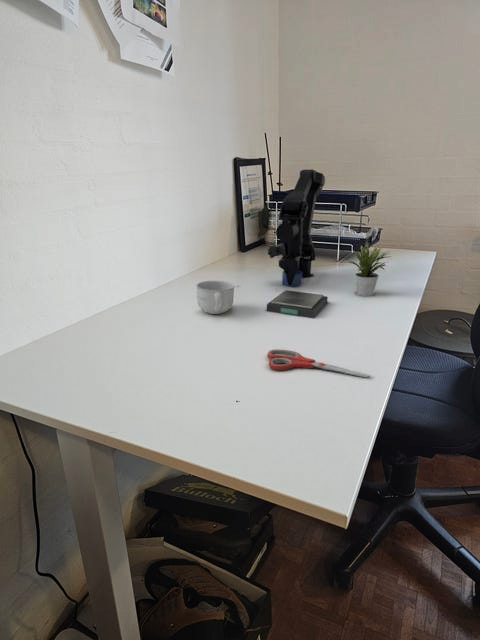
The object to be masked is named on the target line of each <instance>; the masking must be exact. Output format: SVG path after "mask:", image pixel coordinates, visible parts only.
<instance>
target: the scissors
mask: <svg viewBox="0 0 480 640" xmlns="http://www.w3.org/2000/svg"><path fill="white" fill-rule="evenodd" d="M266 356H267V358H268V359H269V361H268V366H269V368H271V369H272V370H275V371H284V370H289V369H293V368H302V369H303V368H304V369H313V368H318V369H320V370H326V371H331V372H335V373H341V374H346V375H350V376H355V377H360V378H369V377H370V376H369V375H367V374H366V373H365V374H364V373H361V372H359V371H354V370H352V369H347V368H343V367H339V366H335V365H331V364H329V363H324V362H319V361H316V359H312V358H310V357H306V356H303V355H301V354H300V353H299V352H297V351H293V350H288V349H281V348H280V349H279V348H278V349H277V348H276V349H270V350H269V351H268V352H267V354H266Z"/></svg>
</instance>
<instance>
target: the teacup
mask: <svg viewBox="0 0 480 640" xmlns="http://www.w3.org/2000/svg"><path fill="white" fill-rule="evenodd" d="M195 287H196V303H197V305H198V307H199V308H200V309H201V310H202V311H203V312H205V313H207V314H211V315H218V314H219V315H220V314H224V313H226V312H227V311H228V310H230V309H231V308H232V307H233V304H234V299H235V298H234V297H235V285H234V283H232V282H229V281H224V280H204V281H200V282H198V283H196V285H195Z"/></svg>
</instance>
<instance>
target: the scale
mask: <svg viewBox="0 0 480 640" xmlns="http://www.w3.org/2000/svg"><path fill="white" fill-rule="evenodd" d="M283 292H284V291H282V292H281V293H280V294H282V293H283ZM280 294H278V295H277V296H276V297H274V298H273V299H272V300H271V301H273V300H274V299H275V298H277V297H278V296H279V295H280ZM328 298H329V296H327V295H324V297H323V298H322V299H321V300H320V301H319V302H318V303H317V304H316V305H315V306H314V307H313V308H312V309H308V308H301V307H294V306H287V305H280V304H273V303H271V301H269V302H268V303H266V312H272V313H279V314H284V315H285V314H286V315H292V316H299V317H305V318H311V319H312V318H313V319H314V318H315V317H316V316H317V315H318V314H319V312H320V311H322V309H323V308H324V307H325V306H326V305H327V304H328Z"/></svg>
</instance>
